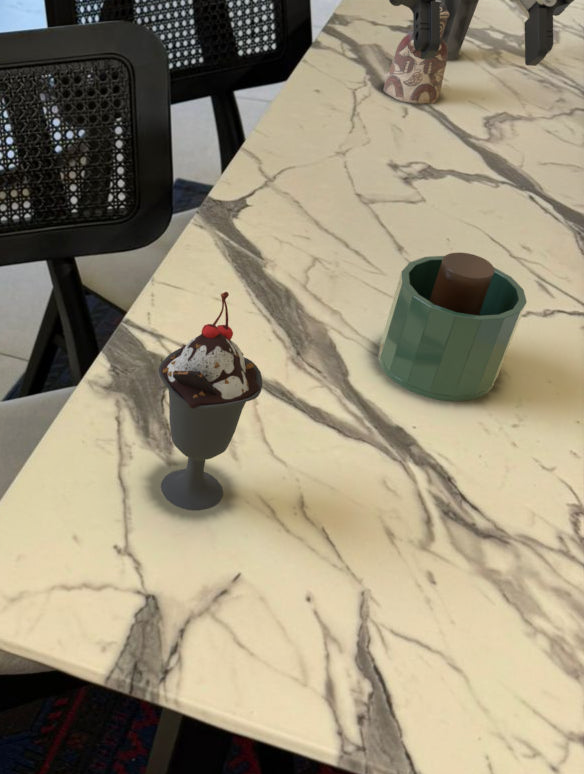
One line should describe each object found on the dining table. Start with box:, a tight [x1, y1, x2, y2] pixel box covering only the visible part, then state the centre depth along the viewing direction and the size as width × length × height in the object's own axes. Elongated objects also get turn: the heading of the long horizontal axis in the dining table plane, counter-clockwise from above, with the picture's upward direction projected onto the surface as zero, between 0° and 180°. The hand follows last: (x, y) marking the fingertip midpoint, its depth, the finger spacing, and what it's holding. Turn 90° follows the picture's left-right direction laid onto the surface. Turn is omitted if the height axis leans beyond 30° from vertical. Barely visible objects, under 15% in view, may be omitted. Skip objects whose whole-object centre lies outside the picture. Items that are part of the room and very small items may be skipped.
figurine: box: [383, 0, 449, 104], centre depth 130 cm, size 7×7×12 cm
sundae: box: [158, 291, 263, 512], centre depth 67 cm, size 7×7×15 cm
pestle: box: [429, 252, 495, 316], centre depth 82 cm, size 4×4×9 cm
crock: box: [377, 255, 528, 402], centre depth 83 cm, size 10×10×8 cm
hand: (483, 58), depth 80 cm, fingers open, 8 cm apart
